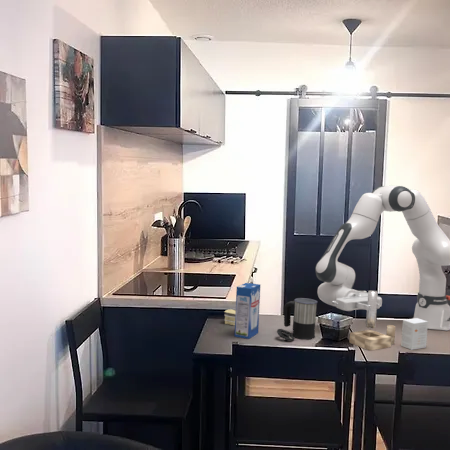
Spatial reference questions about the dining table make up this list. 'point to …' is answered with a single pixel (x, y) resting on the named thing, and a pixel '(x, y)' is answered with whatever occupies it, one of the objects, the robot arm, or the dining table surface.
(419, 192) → the robot arm
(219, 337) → the dining table surface
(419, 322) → the small box
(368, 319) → the steel pin
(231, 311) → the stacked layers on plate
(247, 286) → the milk carton
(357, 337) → the oak collar block
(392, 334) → the beech stub
